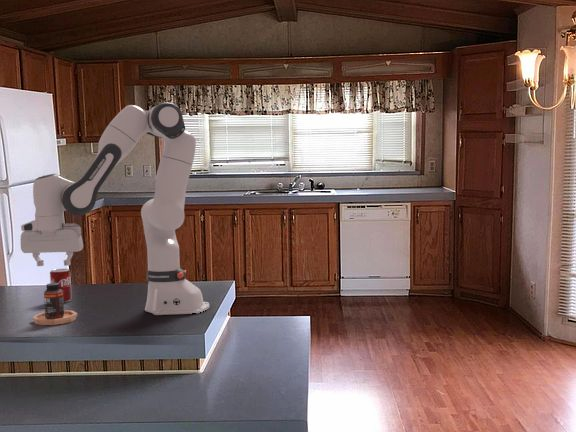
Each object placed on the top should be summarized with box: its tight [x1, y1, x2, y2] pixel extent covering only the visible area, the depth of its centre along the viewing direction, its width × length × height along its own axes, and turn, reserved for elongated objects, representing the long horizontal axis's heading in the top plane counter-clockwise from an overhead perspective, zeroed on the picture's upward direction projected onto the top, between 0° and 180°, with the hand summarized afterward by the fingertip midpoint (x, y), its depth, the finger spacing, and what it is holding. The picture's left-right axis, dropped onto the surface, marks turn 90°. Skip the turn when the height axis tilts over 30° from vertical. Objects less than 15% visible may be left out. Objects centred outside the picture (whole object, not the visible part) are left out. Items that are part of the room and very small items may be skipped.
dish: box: [32, 309, 78, 326], centre depth 202 cm, size 13×13×2 cm
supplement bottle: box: [43, 282, 65, 319], centre depth 201 cm, size 6×6×11 cm
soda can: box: [49, 268, 73, 303], centre depth 230 cm, size 7×7×12 cm
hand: (53, 265), depth 201 cm, fingers open, 8 cm apart
